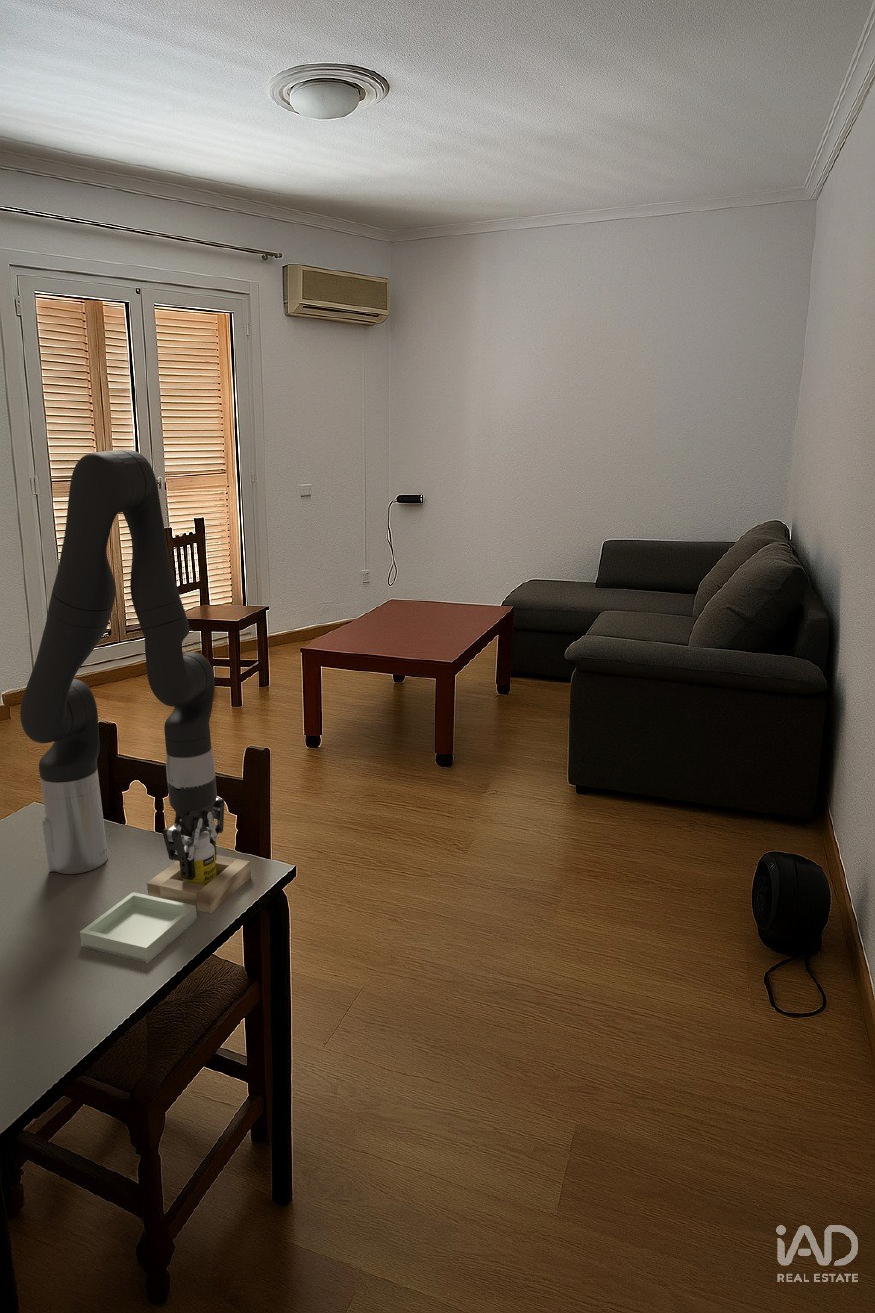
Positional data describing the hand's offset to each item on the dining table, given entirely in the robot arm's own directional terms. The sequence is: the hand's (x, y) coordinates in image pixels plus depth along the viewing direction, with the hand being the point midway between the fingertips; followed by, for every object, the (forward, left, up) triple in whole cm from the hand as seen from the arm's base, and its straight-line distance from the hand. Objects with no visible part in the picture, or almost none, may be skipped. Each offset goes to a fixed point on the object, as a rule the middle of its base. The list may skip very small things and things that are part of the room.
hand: (199, 869), depth 147 cm
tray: (-8, -12, -3) cm, 15 cm away
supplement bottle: (0, 0, -4) cm, 4 cm away
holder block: (0, 0, -3) cm, 3 cm away
